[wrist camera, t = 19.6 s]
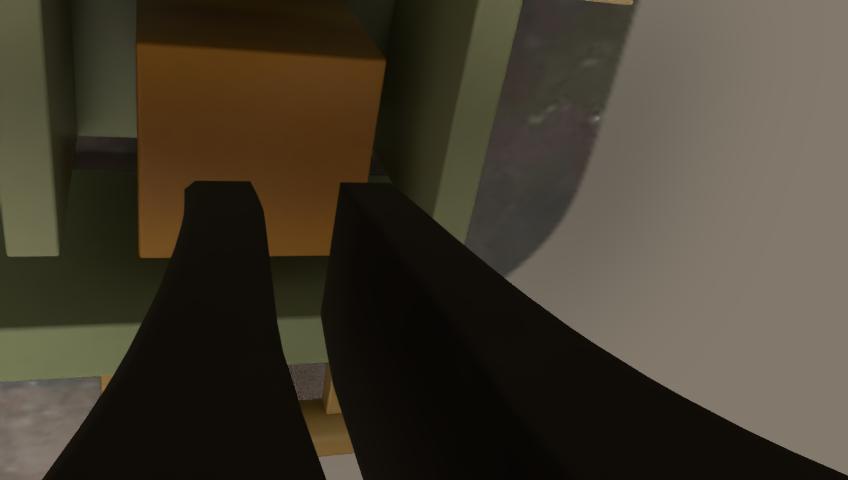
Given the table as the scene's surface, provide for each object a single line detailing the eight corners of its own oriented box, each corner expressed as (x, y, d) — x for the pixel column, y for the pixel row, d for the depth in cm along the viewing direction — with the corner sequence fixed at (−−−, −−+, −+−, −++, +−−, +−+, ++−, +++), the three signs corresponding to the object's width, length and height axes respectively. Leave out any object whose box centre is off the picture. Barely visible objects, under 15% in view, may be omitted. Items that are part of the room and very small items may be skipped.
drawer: (378, 348, 24) (434, 503, 19) (31, 367, 21) (0, 557, 16) (497, -290, 16) (646, -285, 11) (-52, -419, 12) (-166, -489, 8)
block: (320, 161, 19) (357, 256, 15) (139, 156, 17) (138, 259, 14) (341, -10, 17) (388, 59, 13) (136, -30, 15) (135, 41, 12)
